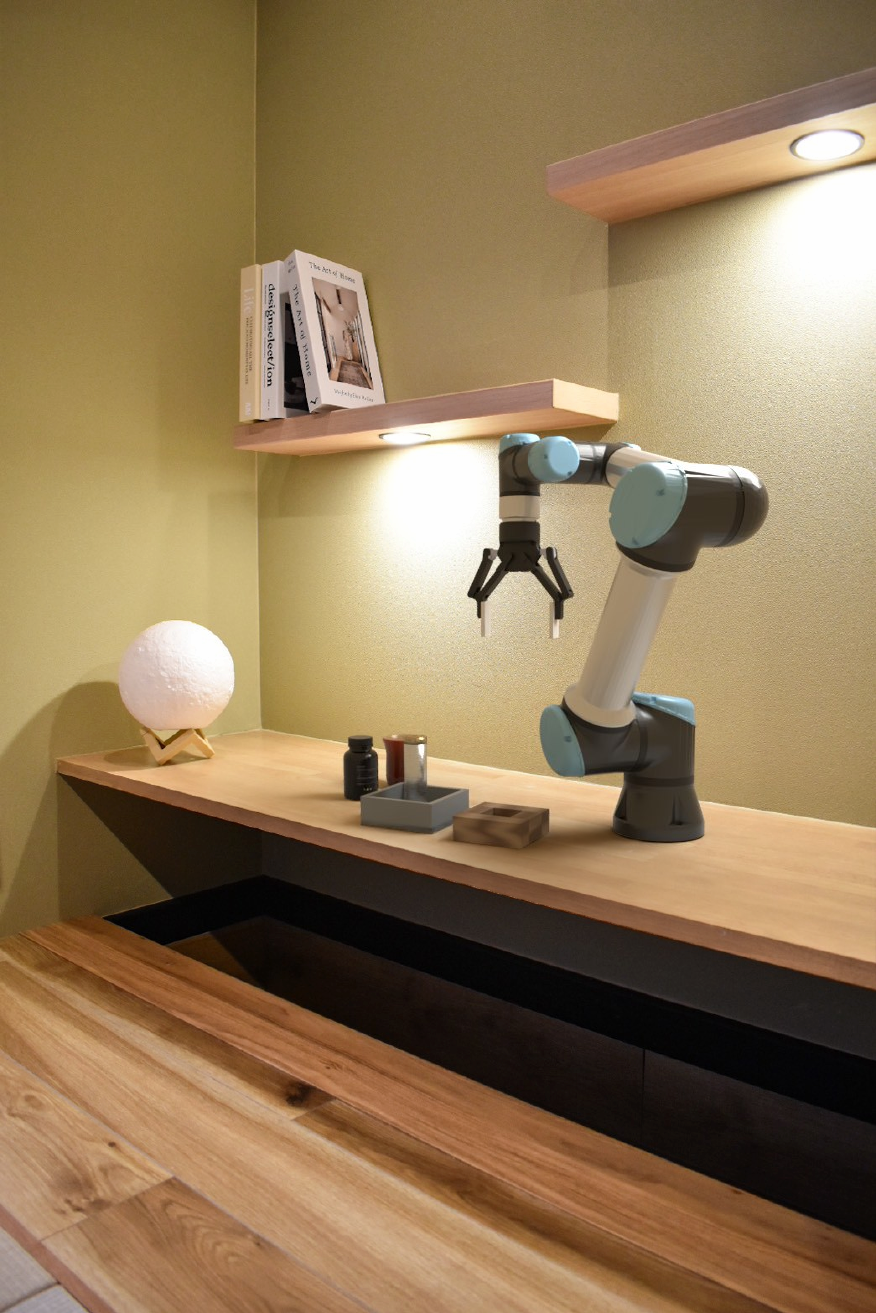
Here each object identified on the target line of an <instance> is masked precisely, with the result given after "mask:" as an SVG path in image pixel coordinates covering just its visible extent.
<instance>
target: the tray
mask: <svg viewBox="0 0 876 1313" xmlns="http://www.w3.org/2000/svg"><path fill="white" fill-rule="evenodd" d="M469 808H470V789H469V788H463V787H462V788H460V787H453V786H452V787H450V786H443V785H441V786H440V785H432V784H431V785H430V784H427V802H418V801H409V800H404V782H400V783H397V784H395V785H392V786H386V787H384V788H380V789H378V790H377V791H375V792H372V793H369V794H366V795H363V796H361V801H360V826H366V827H375V828H383V829H391V830H398V831H405V832H413V833H414V832H415V833H423V834H428V835H431V834H435V833H437V832H440V831H441V830H444V829H446V828H448V827H450V826H453V816H454V815H456V814H458V813H461V812H463V811H465V810H467V809H469Z"/></svg>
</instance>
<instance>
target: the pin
mask: <svg viewBox="0 0 876 1313" xmlns="http://www.w3.org/2000/svg"><path fill="white" fill-rule="evenodd" d="M427 754H428V737H427V735H425V734H414V735H406V736H404V800H409V801H418V802H427V785H428V755H427Z"/></svg>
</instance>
